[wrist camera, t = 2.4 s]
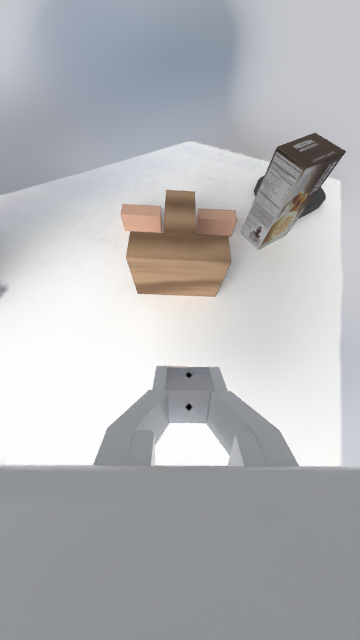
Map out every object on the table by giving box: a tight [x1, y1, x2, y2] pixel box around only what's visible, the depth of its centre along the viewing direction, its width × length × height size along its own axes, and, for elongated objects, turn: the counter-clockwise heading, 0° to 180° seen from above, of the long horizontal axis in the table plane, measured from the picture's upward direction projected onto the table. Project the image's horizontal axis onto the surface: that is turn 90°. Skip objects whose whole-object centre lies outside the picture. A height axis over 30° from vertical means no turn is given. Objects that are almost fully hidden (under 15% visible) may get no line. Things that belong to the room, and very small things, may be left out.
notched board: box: [121, 204, 237, 236], centre depth 40 cm, size 3×24×4 cm, turn 89°
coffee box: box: [241, 133, 346, 249], centre depth 35 cm, size 9×6×16 cm
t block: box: [126, 190, 231, 297], centre depth 33 cm, size 15×15×10 cm
